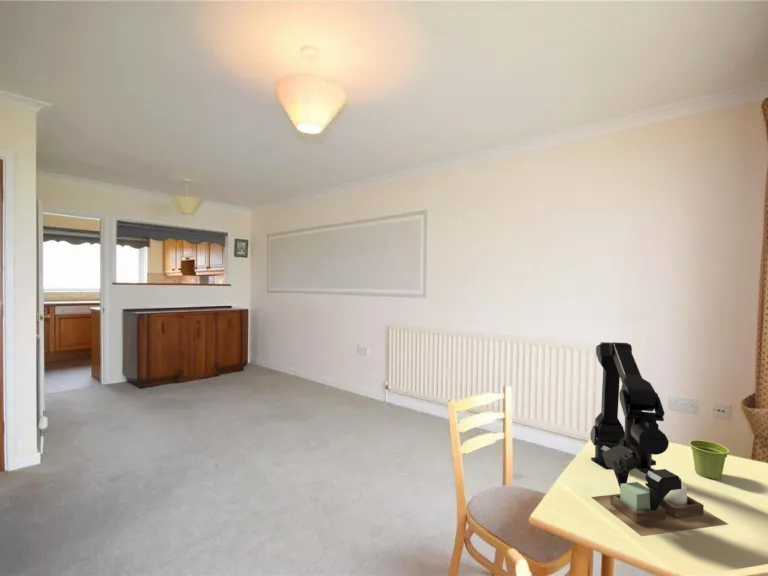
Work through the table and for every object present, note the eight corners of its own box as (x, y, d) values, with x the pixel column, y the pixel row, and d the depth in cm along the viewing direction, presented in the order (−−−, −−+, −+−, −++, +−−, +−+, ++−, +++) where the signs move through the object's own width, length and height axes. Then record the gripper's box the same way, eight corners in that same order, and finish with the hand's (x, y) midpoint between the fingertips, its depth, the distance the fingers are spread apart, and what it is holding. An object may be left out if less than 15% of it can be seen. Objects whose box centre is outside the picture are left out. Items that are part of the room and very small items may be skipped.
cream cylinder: (657, 502, 101) (657, 479, 100) (673, 500, 102) (673, 478, 101) (675, 514, 96) (675, 490, 96) (692, 512, 97) (692, 488, 96)
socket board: (591, 500, 103) (591, 487, 103) (667, 491, 108) (667, 479, 108) (641, 540, 88) (641, 524, 87) (728, 528, 92) (728, 513, 92)
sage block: (637, 505, 100) (637, 481, 99) (653, 516, 95) (654, 492, 95) (620, 507, 99) (620, 483, 99) (636, 519, 94) (636, 494, 94)
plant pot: (737, 480, 114) (737, 450, 114) (714, 484, 112) (714, 454, 111) (703, 465, 123) (703, 438, 123) (681, 469, 121) (681, 441, 120)
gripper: (583, 425, 104) (582, 483, 104) (641, 456, 86) (640, 526, 86) (619, 422, 106) (618, 479, 106) (684, 452, 88) (682, 520, 88)
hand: (637, 499), depth 96 cm, fingers open, 9 cm apart
